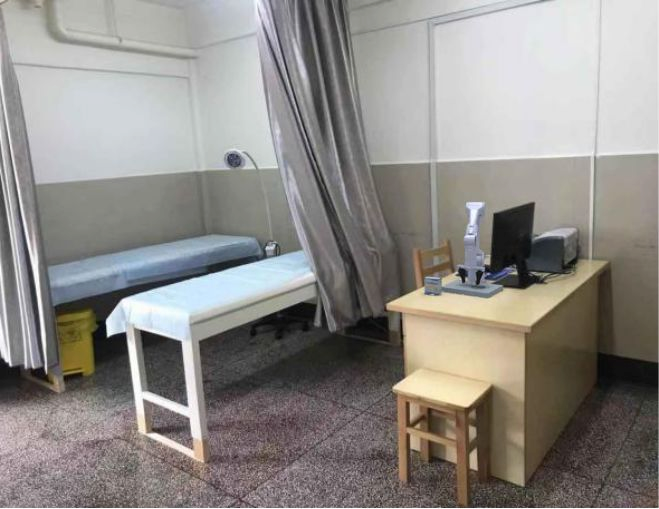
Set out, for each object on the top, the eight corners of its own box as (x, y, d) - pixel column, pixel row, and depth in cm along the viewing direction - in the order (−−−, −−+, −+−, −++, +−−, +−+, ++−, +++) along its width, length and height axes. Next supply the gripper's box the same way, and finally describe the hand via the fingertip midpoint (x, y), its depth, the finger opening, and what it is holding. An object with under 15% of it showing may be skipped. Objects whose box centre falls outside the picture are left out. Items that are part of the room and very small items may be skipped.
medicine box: (424, 294, 281) (424, 278, 280) (427, 292, 285) (426, 276, 284) (439, 295, 278) (439, 279, 276) (441, 293, 282) (441, 277, 280)
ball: (478, 285, 283) (471, 284, 285) (478, 279, 282) (471, 278, 283) (477, 288, 280) (470, 287, 282) (477, 281, 279) (470, 280, 280)
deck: (440, 291, 285) (440, 286, 285) (457, 284, 299) (457, 279, 298) (488, 298, 269) (488, 293, 268) (503, 290, 282) (503, 285, 281)
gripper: (454, 258, 282) (454, 283, 285) (480, 260, 273) (480, 287, 276) (460, 255, 288) (460, 280, 290) (486, 258, 278) (486, 284, 281)
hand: (470, 283), depth 283 cm, fingers open, 7 cm apart
